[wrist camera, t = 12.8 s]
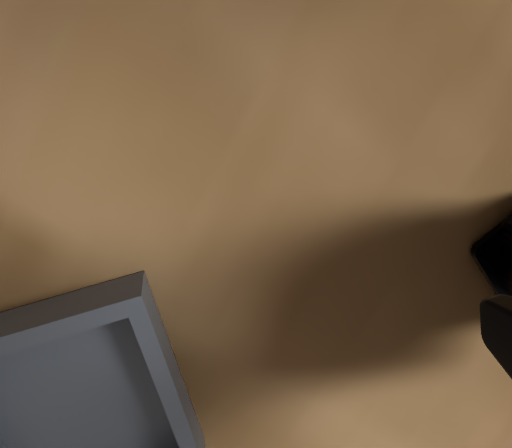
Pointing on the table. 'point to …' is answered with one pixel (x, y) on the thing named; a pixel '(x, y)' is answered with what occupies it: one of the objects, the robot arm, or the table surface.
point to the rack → (93, 373)
